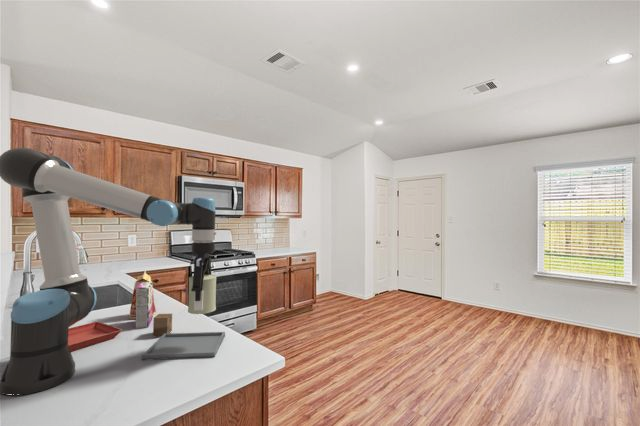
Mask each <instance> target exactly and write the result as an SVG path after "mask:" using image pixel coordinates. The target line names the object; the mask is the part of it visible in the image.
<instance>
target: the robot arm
mask: <svg viewBox="0 0 640 426" xmlns="http://www.w3.org/2000/svg"><path fill="white" fill-rule="evenodd" d="M0 178H1V179H2V181H4V182H5V183H7V184H8V185H10V186H13V187H16V188H19V189H21V194H22V199H23V200H24V201H26V202H28V203H29V204H31V205H30V206H31V211H32V216H33V222H34V227H35V231H36V238H37V243H38V249H39V255H40V260H41V265H42V270H43V276H44V281H43V283H41V285H39V290H36V291H34V292H33V291H32V292H29V293H25V294H23V295H21V296H19V297H18V298H17V299H15V300H14V302H13V303H12V306H11V307H12V308H11V311H10V319H11V320H10V346H9V347H10V349H9V350H10V352H9V355H10V356H9V358H8V359H9V360H8V361H7V364H6V367H5V369H4V371H3V374H2V376H1V378H0V392H1V393H4V394H12V395H13V394H14V395H16V396H18V395H17V394H25V395H29V394H28V393H30V394H34V392H35V393H38V391H39V392H42V391H45V390H49V389H51V388H54V387H56V386H58V385H60V384H63V383H64V382H66V381H68V380H69V379H71V378H72V377H73V376H75V373H76V362H75V360H74V358H73V355H72V351H71V352H70V350H69V347H68V331H69V328H71V326H73V325H74V324H77V323H78V322H80V321H83V320H84V319H85V318H87V316H88V315H89V314H90V313H91V312H92V311H93V310H94V308H95V306H96V304H97V298H98V297H97V292H96V290H95V289H94V288H93V287H92V286H90V285H89V282H88V277H87V276H85V275H84V274H82V273H81V270H80V264H79V260H78V253H77V247H76V242H75V238H74V237H75V236H74V231H73V226H72V225H73V224H72V220H71V215H70V209H69V205H68V201H69V199H75V200H77V201H82V202H85V203H88V204H91V205H94V206H98V207H101V208H104V209H108V210H111V211H114V212H117V213H120V214H124V215H128V216H129V217H130V216H131V217H134V218H137V219H140V220H143V221H147V222H149V223H152V224H153V225H155V226H159V227H167V226H174V225H176V226H177V225H179V226H181V225H187V226H188V225H191V227H192V229H191V241H192V243H191V254H195V255H197V257H196V258H195V259H194V260H193V266H194V267H193V287H192V289H191V290H192V291H194V311H196V310H203V290H202V288H203V279H204V275H212V255H211V254H213V253H215V249H216V248H215V243H216V242H214V241H215V237H216V235H217V232H215V231H216V200H215V199H214V198H211V197H194V198H192V202H188V203H187V202H173V201H170V200H166V199H163V198H159V197H156V196H154V195H150V194H147V193H145V192H141V191H138V190H136V189H132V188H129V187H127V186H122V185H120V184H118V183H117V184H116V183H114V182H111V181H107V180H106V179H105V180H104V179H101V178H99V177H95V176H92V175H89V174H87V173H84V172H79V171H77V170H74V168H73V167H72V166H71V165H70V164H69V163H68V162H67V161H65V160H63V159H62V158H61V157H58V156H57V155H56V156H55V155H51V154H47V153H44V152H42V151H38V150H36V149H33V148H29V147H28V148H27V147H15V148H10V149H8V150H5V151H4V152H3V153H1V154H0ZM209 254H210V255H209ZM197 286H199V287H197ZM1 393H0V394H1Z"/></svg>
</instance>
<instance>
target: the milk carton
mask: <svg viewBox="0 0 640 426" xmlns="http://www.w3.org/2000/svg"><path fill="white" fill-rule="evenodd" d="M143 282H144V283H145V282H152V277H151V276H150V275H149V274H148V273H147V271H146V270H144V273H143V274H141V275H140V276H137V277H136V280H135V282H134V287H133V293H132V298H131V303H130V309H129V316H128V317H129V318H128V319H129V320H135V313H136V288H137V287H138V285H139V284H140V283H143ZM156 313H157V309H156V306H155V297H154V286H153V285H152V318H154V315H155V314H156Z"/></svg>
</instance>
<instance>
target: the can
mask: <svg viewBox="0 0 640 426" xmlns="http://www.w3.org/2000/svg"><path fill="white" fill-rule="evenodd" d="M192 287H193V276H189V277H188V307H187V308H188V309H187V313H189V314H191V315H203V314H210V313H212V312H215V311H216V310H217V306H216V305H217V304H216V301H217V297H216V295H217V275H213V274H211V275H204V279H203V288H202V290H203V310H196V311H194V291H192V290H191V289H192ZM197 287H199V286H197Z"/></svg>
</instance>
